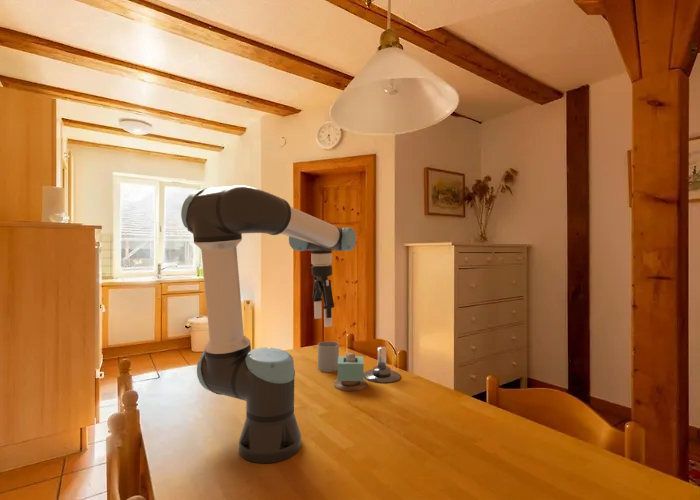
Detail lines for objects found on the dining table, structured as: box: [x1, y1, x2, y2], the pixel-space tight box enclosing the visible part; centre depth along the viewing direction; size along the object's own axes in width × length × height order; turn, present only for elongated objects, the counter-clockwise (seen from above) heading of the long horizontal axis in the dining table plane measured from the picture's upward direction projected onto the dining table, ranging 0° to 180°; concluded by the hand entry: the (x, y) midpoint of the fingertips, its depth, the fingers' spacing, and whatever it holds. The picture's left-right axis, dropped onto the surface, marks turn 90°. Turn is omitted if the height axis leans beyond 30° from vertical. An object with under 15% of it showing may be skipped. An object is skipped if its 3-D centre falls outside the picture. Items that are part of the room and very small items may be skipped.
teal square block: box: [337, 355, 365, 381], centre depth 137 cm, size 9×9×6 cm
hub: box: [364, 346, 401, 384], centre depth 146 cm, size 14×14×11 cm
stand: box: [333, 352, 368, 392], centre depth 137 cm, size 12×12×11 cm
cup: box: [317, 341, 340, 373], centre depth 155 cm, size 8×8×10 cm
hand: (323, 322), depth 141 cm, fingers open, 13 cm apart
